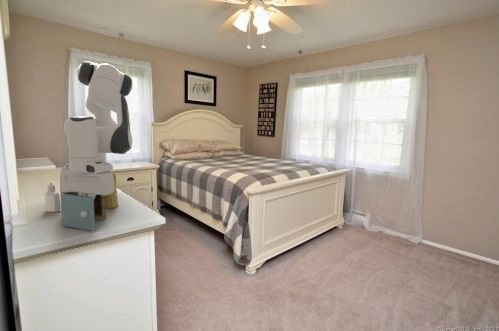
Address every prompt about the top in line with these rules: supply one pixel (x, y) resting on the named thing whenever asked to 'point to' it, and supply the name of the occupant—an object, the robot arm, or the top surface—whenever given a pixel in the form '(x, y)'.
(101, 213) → the cabinet box
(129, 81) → the robot arm
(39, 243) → the top surface
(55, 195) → the eye dropper bottle
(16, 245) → the top surface
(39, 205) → the top surface
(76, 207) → the door
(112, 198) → the vase
